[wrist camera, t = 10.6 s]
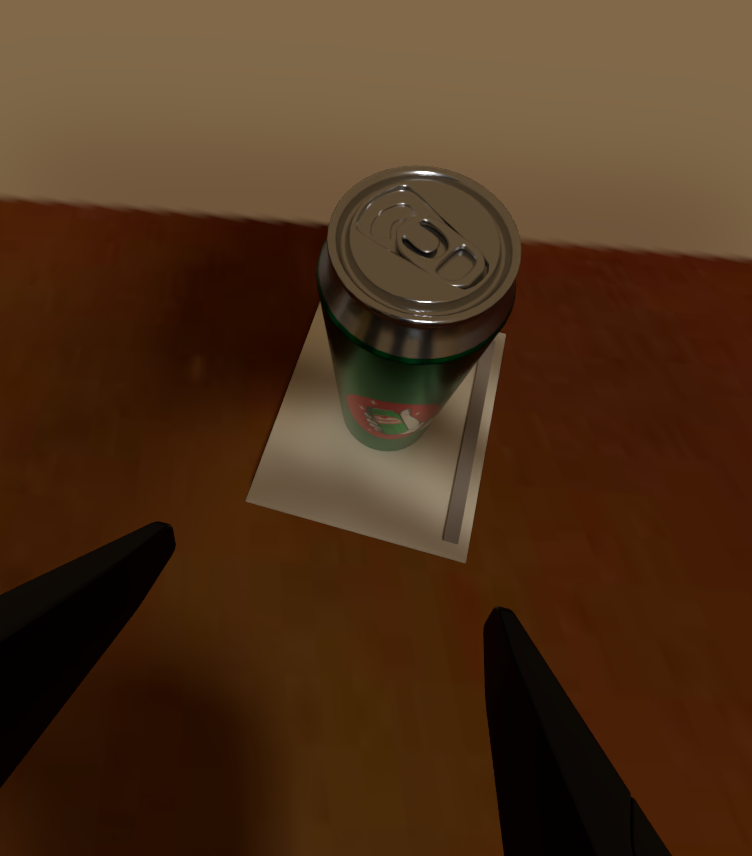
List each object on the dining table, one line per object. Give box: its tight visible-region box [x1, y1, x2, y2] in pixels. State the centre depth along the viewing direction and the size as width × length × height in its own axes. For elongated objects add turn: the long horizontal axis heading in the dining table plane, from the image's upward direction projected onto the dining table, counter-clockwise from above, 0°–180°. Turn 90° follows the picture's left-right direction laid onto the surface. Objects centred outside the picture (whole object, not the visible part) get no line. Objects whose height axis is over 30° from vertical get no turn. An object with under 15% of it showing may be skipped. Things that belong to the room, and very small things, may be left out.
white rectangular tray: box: [246, 303, 506, 563], centre depth 19 cm, size 14×12×1 cm
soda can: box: [316, 166, 521, 451], centre depth 13 cm, size 5×5×12 cm
